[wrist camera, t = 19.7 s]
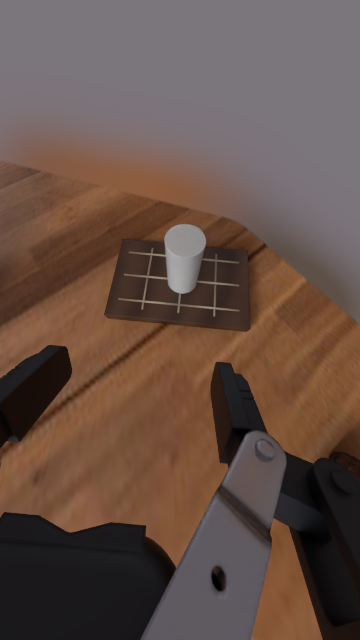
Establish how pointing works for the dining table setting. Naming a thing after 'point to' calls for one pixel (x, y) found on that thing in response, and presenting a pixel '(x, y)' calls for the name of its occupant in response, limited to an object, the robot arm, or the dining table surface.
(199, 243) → the white upright cylinder
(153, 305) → the board
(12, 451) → the dining table surface
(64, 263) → the dining table surface
